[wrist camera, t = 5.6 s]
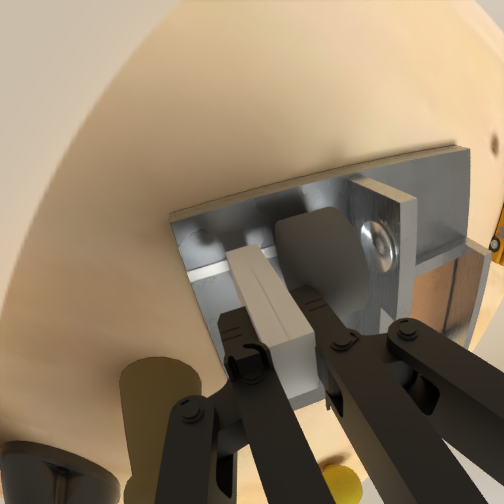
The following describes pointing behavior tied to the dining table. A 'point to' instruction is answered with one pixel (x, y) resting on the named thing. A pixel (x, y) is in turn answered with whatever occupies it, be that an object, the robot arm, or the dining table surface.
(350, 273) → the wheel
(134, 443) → the olive brown pawn
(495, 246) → the toy bus
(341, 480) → the lemon
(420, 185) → the plate
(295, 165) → the dining table surface
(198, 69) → the dining table surface
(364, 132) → the dining table surface
